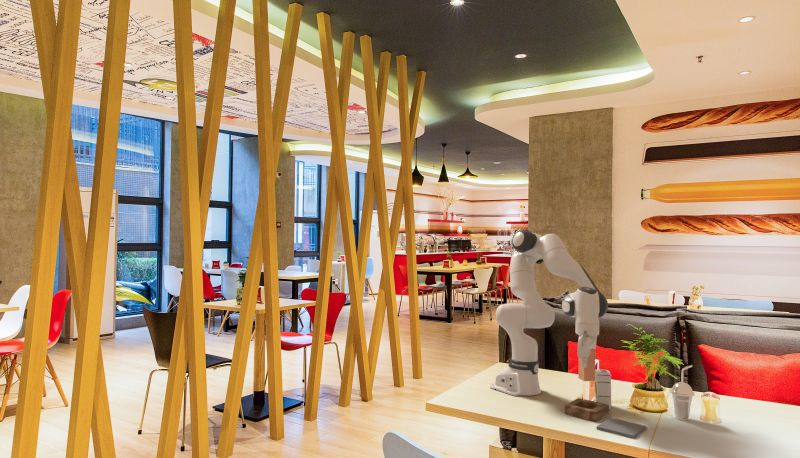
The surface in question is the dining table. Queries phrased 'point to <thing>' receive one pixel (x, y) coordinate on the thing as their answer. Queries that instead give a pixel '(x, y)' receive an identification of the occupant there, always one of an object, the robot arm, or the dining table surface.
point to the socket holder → (587, 409)
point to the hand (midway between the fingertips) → (586, 364)
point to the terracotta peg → (588, 368)
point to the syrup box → (603, 387)
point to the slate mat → (621, 427)
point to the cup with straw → (682, 398)
